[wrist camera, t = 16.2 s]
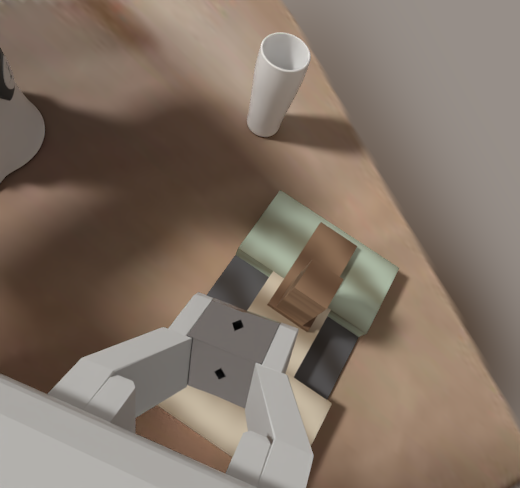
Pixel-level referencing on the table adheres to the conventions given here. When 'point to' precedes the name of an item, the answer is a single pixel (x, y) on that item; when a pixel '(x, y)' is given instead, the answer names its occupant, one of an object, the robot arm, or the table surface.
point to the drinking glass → (276, 81)
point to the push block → (313, 277)
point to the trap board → (307, 343)
